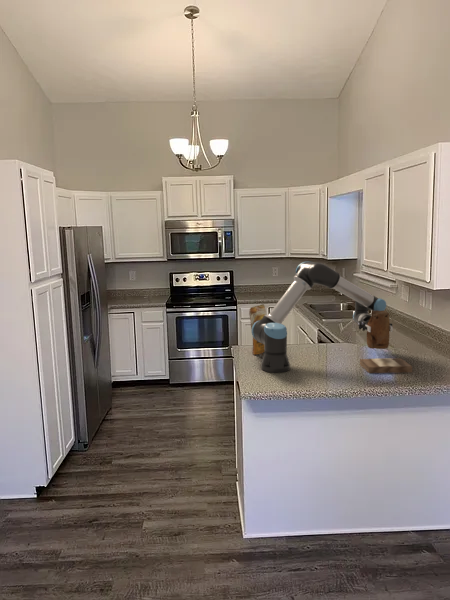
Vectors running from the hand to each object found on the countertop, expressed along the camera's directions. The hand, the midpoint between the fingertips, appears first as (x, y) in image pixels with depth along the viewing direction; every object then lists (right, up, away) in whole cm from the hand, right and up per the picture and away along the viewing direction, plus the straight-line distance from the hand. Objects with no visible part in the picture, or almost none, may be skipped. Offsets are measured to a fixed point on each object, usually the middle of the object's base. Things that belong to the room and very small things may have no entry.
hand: (380, 329), depth 248 cm
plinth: (+2, -20, -1) cm, 20 cm away
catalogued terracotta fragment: (0, -10, +6) cm, 12 cm away
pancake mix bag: (-61, -16, +35) cm, 72 cm away
